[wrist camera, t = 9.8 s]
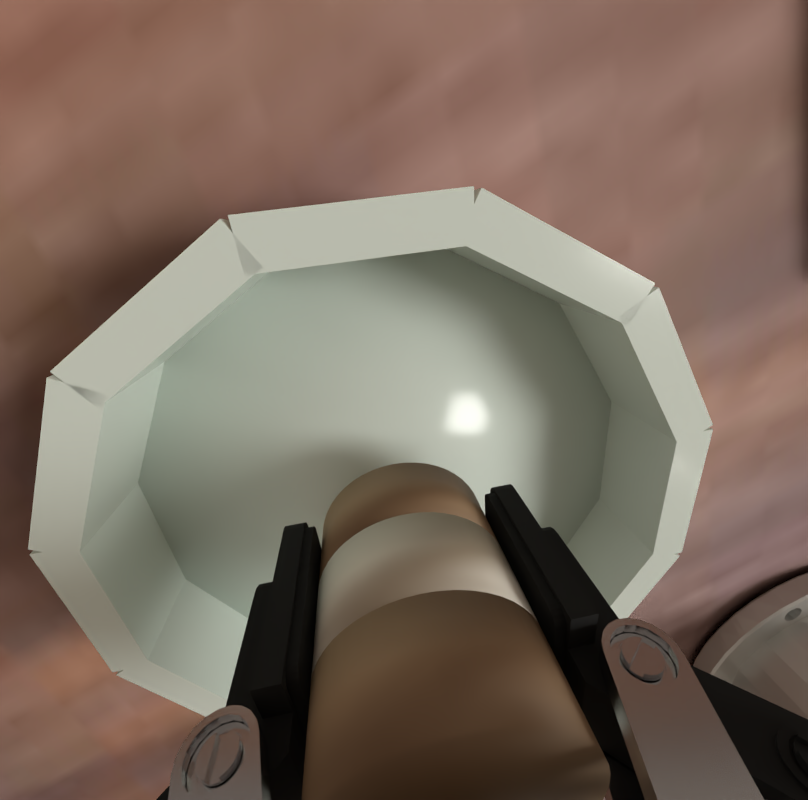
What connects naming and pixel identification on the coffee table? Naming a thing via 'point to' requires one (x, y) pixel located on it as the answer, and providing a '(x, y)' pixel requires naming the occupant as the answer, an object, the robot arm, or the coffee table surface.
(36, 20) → the coffee table surface
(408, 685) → the banded candle
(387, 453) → the round tray
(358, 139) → the coffee table surface
